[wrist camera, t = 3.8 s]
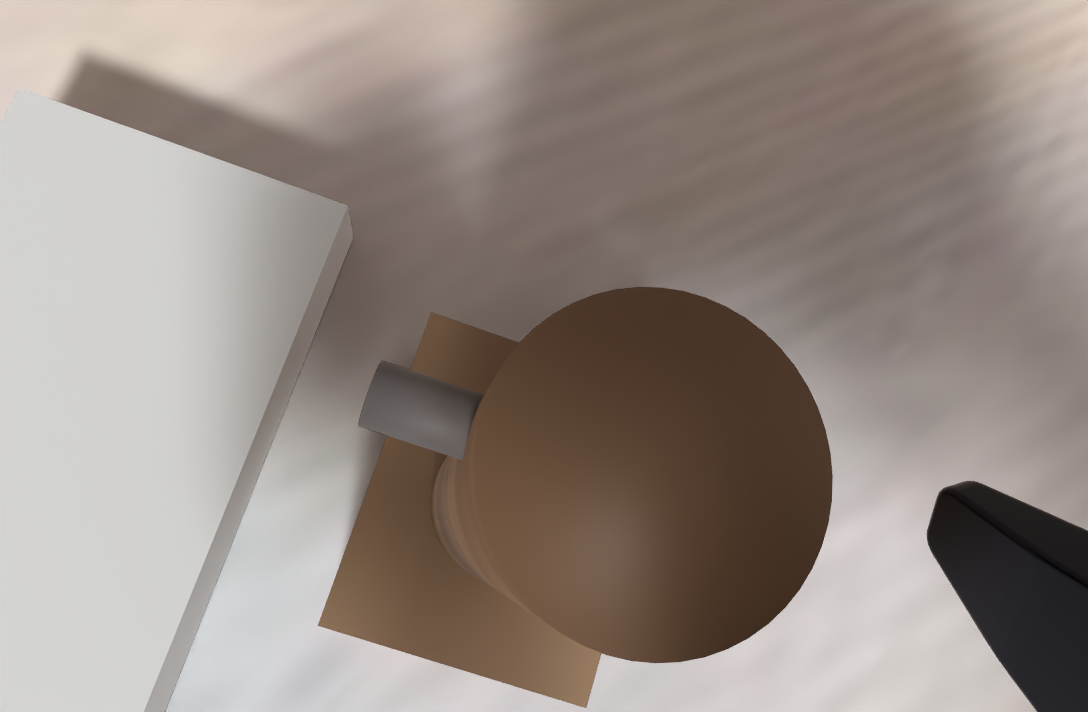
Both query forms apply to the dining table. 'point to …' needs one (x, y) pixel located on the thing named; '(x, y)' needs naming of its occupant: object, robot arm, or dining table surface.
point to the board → (135, 391)
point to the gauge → (585, 492)
